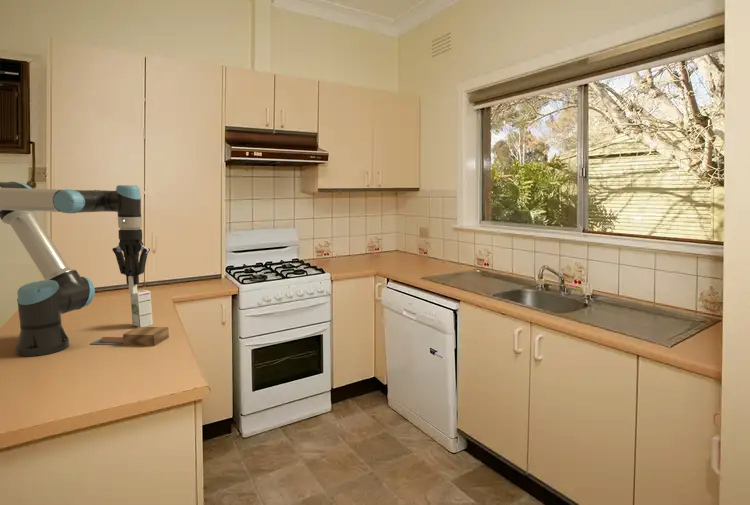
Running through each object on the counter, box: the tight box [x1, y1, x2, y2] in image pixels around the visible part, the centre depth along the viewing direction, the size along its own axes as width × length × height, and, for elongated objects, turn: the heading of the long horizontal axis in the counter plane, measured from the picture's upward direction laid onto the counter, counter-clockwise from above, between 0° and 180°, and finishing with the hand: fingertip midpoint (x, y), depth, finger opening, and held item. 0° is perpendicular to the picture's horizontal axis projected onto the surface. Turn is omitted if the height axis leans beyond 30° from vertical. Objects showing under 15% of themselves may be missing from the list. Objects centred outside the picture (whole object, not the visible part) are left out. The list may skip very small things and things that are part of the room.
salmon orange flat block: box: [101, 331, 128, 343], centre depth 172 cm, size 9×6×2 cm, turn 86°
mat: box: [89, 337, 125, 346], centre depth 173 cm, size 13×10×1 cm
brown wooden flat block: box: [123, 326, 170, 347], centre depth 172 cm, size 12×10×4 cm
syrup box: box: [129, 289, 154, 328], centre depth 192 cm, size 6×6×14 cm
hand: (133, 293), depth 170 cm, fingers closed
